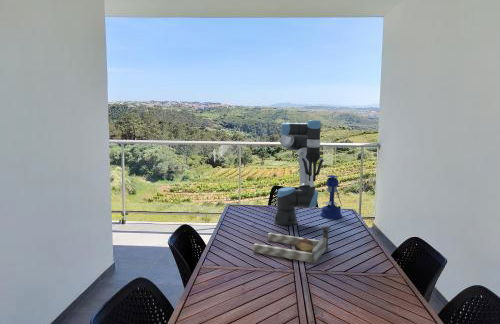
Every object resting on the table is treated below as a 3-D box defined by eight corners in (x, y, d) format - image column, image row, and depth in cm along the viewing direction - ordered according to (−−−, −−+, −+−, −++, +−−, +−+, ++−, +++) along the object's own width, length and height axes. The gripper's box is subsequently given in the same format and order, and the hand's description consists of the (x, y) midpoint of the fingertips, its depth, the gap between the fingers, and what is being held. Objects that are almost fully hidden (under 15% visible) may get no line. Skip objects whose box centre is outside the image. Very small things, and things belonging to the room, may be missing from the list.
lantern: (319, 212, 271) (321, 172, 267) (340, 213, 269) (342, 173, 265) (320, 218, 254) (322, 176, 250) (343, 219, 252) (345, 177, 248)
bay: (253, 251, 190) (253, 230, 188) (271, 237, 213) (271, 218, 211) (318, 263, 175) (318, 240, 174) (329, 246, 199) (330, 226, 197)
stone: (318, 257, 184) (318, 247, 184) (301, 258, 182) (301, 248, 182) (307, 247, 199) (307, 237, 198) (291, 248, 197) (291, 239, 196)
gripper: (300, 146, 212) (299, 186, 214) (322, 147, 206) (321, 188, 209) (304, 145, 218) (303, 184, 221) (325, 146, 213) (324, 186, 216)
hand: (311, 186), depth 215 cm, fingers closed
